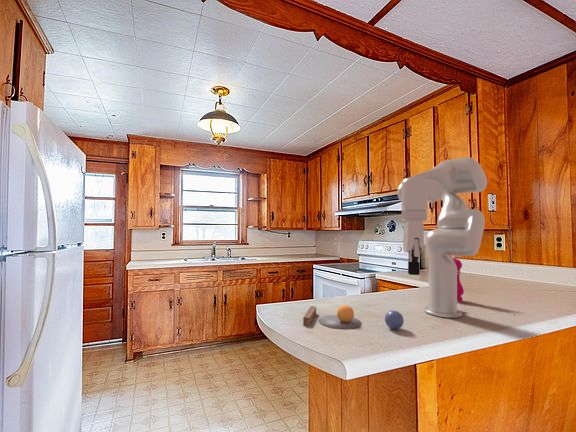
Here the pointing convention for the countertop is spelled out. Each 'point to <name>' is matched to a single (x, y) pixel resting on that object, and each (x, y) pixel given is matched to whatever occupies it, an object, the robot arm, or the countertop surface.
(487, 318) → the countertop surface
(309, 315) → the rail
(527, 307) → the countertop surface
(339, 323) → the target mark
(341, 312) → the object ball
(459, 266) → the pepper mill
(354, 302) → the countertop surface
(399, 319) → the blue ball
